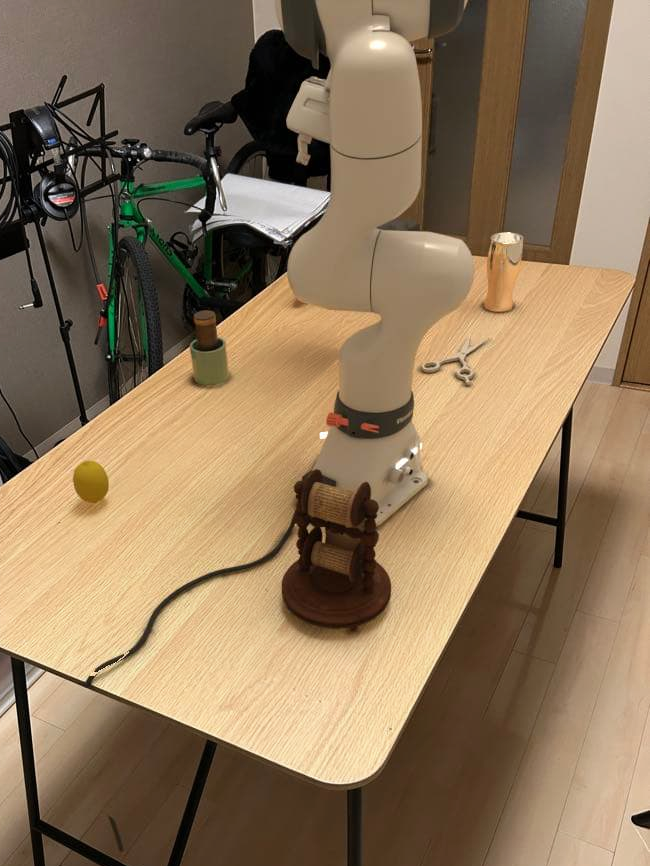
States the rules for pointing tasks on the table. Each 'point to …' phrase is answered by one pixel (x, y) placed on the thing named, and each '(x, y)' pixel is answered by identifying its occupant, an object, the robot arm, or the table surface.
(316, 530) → the wooden twine spool holder
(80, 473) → the lemon
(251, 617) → the table surface
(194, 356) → the tumbler
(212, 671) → the table surface
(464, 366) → the scissors
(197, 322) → the rod
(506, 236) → the beer glass
